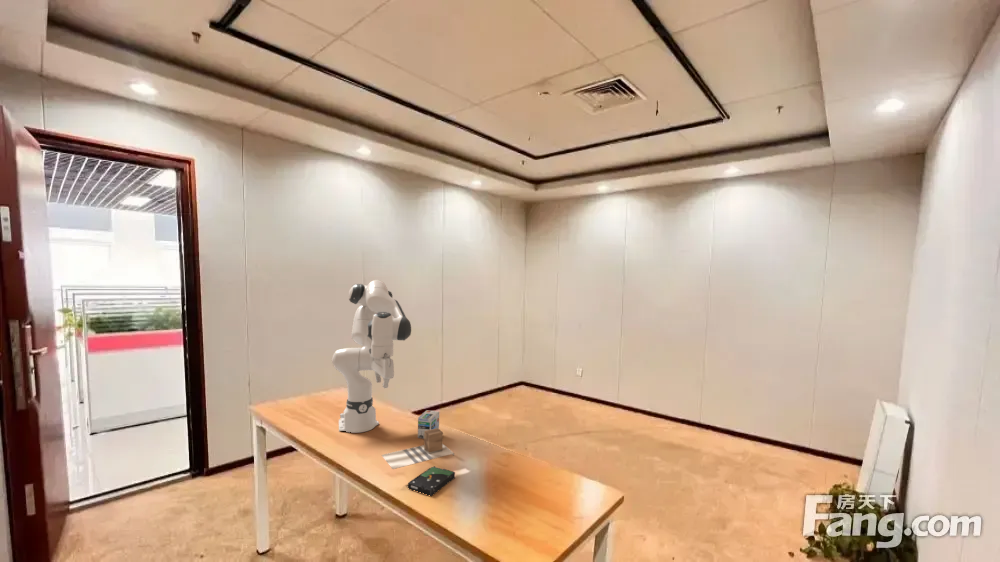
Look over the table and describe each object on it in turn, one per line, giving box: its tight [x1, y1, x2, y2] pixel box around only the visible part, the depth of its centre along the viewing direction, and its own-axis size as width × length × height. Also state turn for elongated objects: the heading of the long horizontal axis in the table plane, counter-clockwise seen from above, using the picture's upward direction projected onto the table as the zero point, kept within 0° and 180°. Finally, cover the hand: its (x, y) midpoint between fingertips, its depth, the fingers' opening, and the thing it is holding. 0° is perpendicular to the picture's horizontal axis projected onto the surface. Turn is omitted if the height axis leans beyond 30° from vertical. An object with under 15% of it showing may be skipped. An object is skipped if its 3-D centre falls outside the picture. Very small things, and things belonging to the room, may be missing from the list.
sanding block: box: [423, 428, 444, 454], centre depth 169 cm, size 5×6×8 cm
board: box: [381, 443, 455, 470], centre depth 165 cm, size 14×26×2 cm, turn 124°
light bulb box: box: [417, 409, 440, 440], centre depth 186 cm, size 11×7×11 cm, turn 168°
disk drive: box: [407, 465, 456, 497], centre depth 145 cm, size 10×3×15 cm
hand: (381, 384), depth 167 cm, fingers open, 8 cm apart
